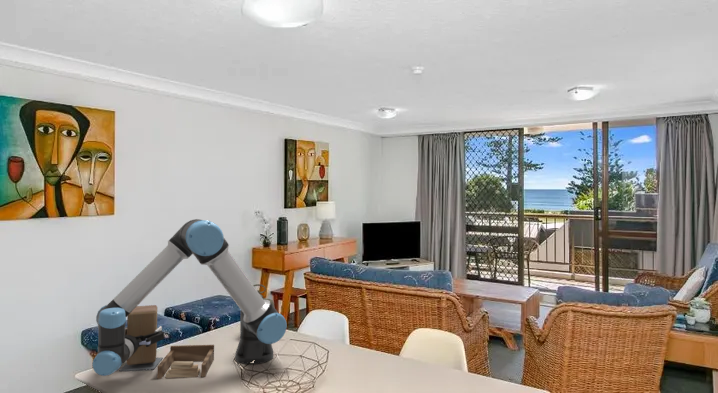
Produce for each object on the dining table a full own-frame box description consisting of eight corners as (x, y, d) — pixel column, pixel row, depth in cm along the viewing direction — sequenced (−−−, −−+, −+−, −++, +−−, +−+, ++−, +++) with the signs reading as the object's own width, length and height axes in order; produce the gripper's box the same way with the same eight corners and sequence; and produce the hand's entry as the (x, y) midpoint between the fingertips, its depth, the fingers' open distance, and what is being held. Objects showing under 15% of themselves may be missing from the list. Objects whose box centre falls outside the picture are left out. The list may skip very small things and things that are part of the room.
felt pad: (131, 359, 177) (131, 358, 177) (162, 358, 179) (162, 357, 179) (119, 371, 165) (119, 369, 165) (153, 370, 167) (153, 368, 167)
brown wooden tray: (170, 361, 177) (171, 345, 177) (213, 359, 179) (214, 344, 179) (157, 378, 159) (157, 361, 159) (205, 377, 161) (205, 360, 162)
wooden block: (128, 357, 175) (129, 306, 175) (156, 354, 179) (157, 304, 179) (126, 366, 166) (127, 312, 166) (155, 363, 170) (156, 310, 170)
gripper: (85, 361, 151) (111, 340, 172) (159, 358, 154) (176, 339, 176) (85, 338, 151) (111, 321, 172) (160, 336, 154) (176, 319, 176)
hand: (144, 330), depth 174 cm, fingers closed on wooden block, 11 cm apart
